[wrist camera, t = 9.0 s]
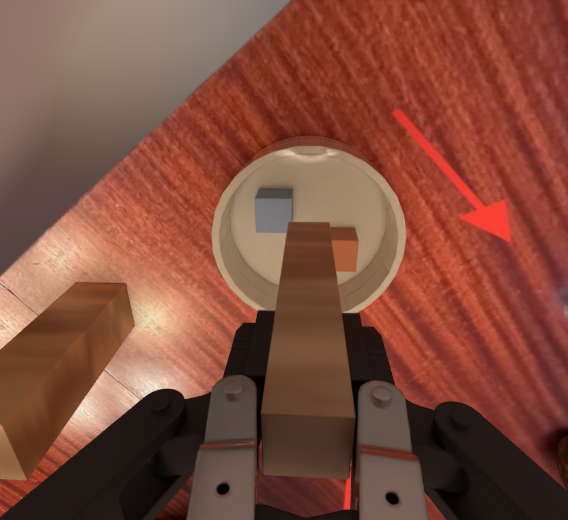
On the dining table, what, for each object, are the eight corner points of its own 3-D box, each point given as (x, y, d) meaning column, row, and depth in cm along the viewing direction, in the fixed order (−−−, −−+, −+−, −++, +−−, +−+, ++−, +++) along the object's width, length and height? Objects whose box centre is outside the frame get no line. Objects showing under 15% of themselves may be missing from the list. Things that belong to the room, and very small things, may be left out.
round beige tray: (218, 134, 36) (202, 145, 31) (402, 135, 36) (419, 146, 30) (230, 291, 44) (219, 321, 39) (382, 295, 43) (393, 327, 38)
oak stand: (75, 282, 45) (-80, 421, 27) (125, 283, 44) (1, 425, 27) (87, 324, 47) (-48, 476, 29) (134, 325, 47) (27, 480, 29)
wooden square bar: (288, 221, 22) (260, 413, 10) (329, 221, 22) (356, 417, 9) (288, 258, 23) (262, 475, 11) (327, 259, 23) (349, 480, 10)
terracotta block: (321, 227, 39) (322, 239, 36) (355, 227, 39) (358, 240, 36) (320, 256, 41) (321, 271, 38) (352, 257, 41) (356, 272, 38)
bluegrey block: (258, 188, 38) (254, 198, 35) (293, 188, 38) (291, 198, 35) (260, 220, 39) (255, 232, 36) (292, 221, 39) (291, 233, 36)
